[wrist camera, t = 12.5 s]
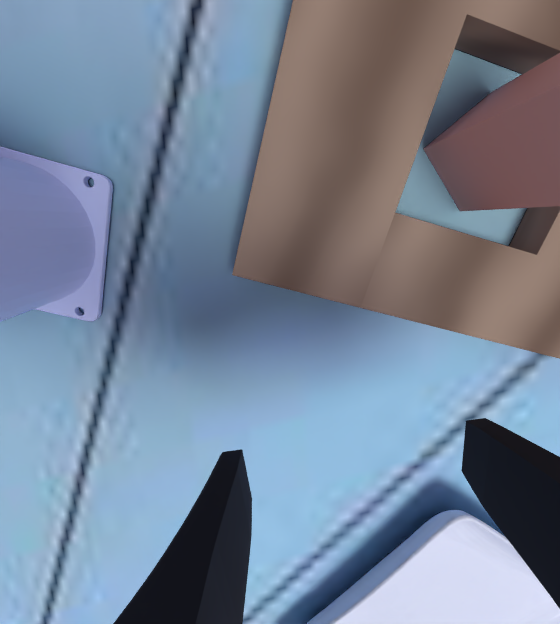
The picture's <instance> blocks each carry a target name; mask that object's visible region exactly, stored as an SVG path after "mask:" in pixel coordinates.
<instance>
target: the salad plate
mask: <svg viewBox="0 0 560 624" xmlns="http://www.w3.org/2000/svg"><path fill="white" fill-rule="evenodd" d="M307 624H560V609H559V607H558V606H557V605H556V603H555V602H554V600H553V599H552V598H551V596H550V595H549V593H548V592H547V591H546V589H545V588H544V587H543V585H542V584H541V583H540V582H539V580H538V579H537V578H536V576H535V575H534V574H533V572H532V571H531V570H530V568H529V567H528V566H527V564H526V563H525V562H524V560H523V559H522V558H521V556H520V555H519V554H518V552H517V551H516V550H515V549H514V547H513V546H512V545H511V543H510V542H509V541H508V539H507V538H506V537H505V536H503V535H502V534H500V533H499V532H498V531H496V530H495V529H493V528H492V527H490V526H489V525H487V524H486V523H484V522H483V521H481V520H479V519H478V518H476V517H474V516H472V515H470V514H468V513H466V512H464V511H461V510H449V511H444V512H441V513H439V514H437V515H435V516H434V517H432V518H431V519H430V520H428V521H427V522H426V523H424V524H423V525H422V526H421V527H420V528H419V529H418V530H416V531H415V532H414V533H413V534H412V535H411V536H410V537H409V538H407V539H406V540H405V541H404V542H403V543H401V544H400V545H399V546H398V547H397V548H395V549H394V550H393V551H392V552H391V553H390V554H388V555H387V556H386V557H385V558H384V559H382V560H381V561H380V562H379V563H378V564H377V565H375V566H374V567H373V568H372V569H371V570H370V571H369V572H368V573H366V574H365V575H364V576H363V577H362V578H361V579H359V580H358V581H357V582H356V583H355V584H354V585H352V586H351V587H350V588H349V589H348V590H347V591H345V592H344V593H343V594H342V595H340V596H339V597H338V598H337V599H336V600H334V601H333V602H332V603H331V604H330V605H328V606H327V607H326V608H325V609H323V610H322V611H321V612H320V613H318V614H317V615H316V616H315V617H313V618H312V619H311V620H310V621H309V622H308V623H307Z"/></svg>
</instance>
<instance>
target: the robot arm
mask: <svg viewBox="0 0 560 624" xmlns="http://www.w3.org/2000/svg"><path fill="white" fill-rule="evenodd" d="M89 178H92V179H93V180H94V186H93V187H90V186H89V184H88V180H89ZM112 193H113V184H112V182H111V180H110V179H109V178H108V177H106V176H104V175H101V174H97V173H94V172H90V171H86V170H83V169H79V168H76V167H72V166H69V165H65V164H61V163H58V162H54V161H51V160H47V159H44V158H40V157H36V156H33V155H29V154H26V153H22V152H19V151H15V150H11V149H8V148H4V147H1V146H0V322H1V321H4V320H6V319H9V318H12V317H14V316H17V315H20V314H22V313H25V312H28V311H30V310H33V309H36V310H40V311H45V312H49V313H53V314H58V315H62V316H67V317H71V318H76V319H80V320H85V321H95V320H97V319H98V318H99V317H100V316H101V310H102V299H103V289H104V278H105V267H106V257H107V246H108V236H109V225H110V214H111V204H112ZM79 307H81V308H82V309H83V310H84V314H83V313H81V312H80V311H79ZM462 472H463V474H464V476H465V478H466V479H467V481H468V483H469V484H470V486H471V488H472V490H473V491H474V493H475V494H476V496H477V498H478V499H479V501H480V502H481V504H482V506H483V507H484V508H485V510H486V511H487V512H488V514H489V515H490V517H491V518H492V519H493V521H494V522H495V523H496V525H497V526H498V527H499V529H500V530H501V531H502V533H503V534H504V535H505V537H506V538H507V539H508V541H509V542H510V543H511V545H512V546H513V547H514V549H515V550H516V551H517V552H518V554H519V555H520V556H521V558H522V559H523V560H524V562H525V563H526V564H527V566H528V567H529V568H530V570H531V571H532V572H533V574H534V575H535V576H536V578H537V579H538V580H539V582H540V583H541V584H542V585H543V587H544V588H545V589H546V591H547V592H548V593H549V595H550V596H551V598H552V599H553V600H554V602H555V603H556V605H557V606H558V607H559V609H560V457H559V456H557V455H555V454H553V453H551V452H549V451H547V450H545V449H543V448H542V447H540V446H538V445H536V444H534V443H532V442H530V441H528V440H527V439H525V438H523V437H521V436H519V435H517V434H515V433H513V432H512V431H510V430H508V429H506V428H504V427H502V426H500V425H498V424H496V423H494V422H492V421H490V420H488V419H486V418H483V419H475V420H467V421H466V428H465V439H464V451H463V462H462ZM251 529H252V497H251V492H250V487H249V482H248V477H247V472H246V466H245V461H244V456H243V451H242V450H235V451H227V452H223V453H222V454H221V455H220V457H219V459H218V461H217V463H216V465H215V467H214V469H213V471H212V473H211V475H210V477H209V479H208V481H207V483H206V484H205V486H204V488H203V490H202V492H201V494H200V495H199V497H198V499H197V501H196V502H195V504H194V506H193V507H192V509H191V511H190V513H189V514H188V516H187V518H186V519H185V521H184V523H183V524H182V526H181V528H180V529H179V531H178V532H177V534H176V535H175V537H174V539H173V540H172V542H171V543H170V545H169V546H168V548H167V550H166V551H165V553H164V554H163V556H162V557H161V559H160V560H159V562H158V563H157V565H156V566H155V568H154V569H153V571H152V572H151V573H150V575H149V576H148V578H147V579H146V581H145V582H144V583H143V585H142V586H141V587H140V589H139V590H138V592H137V593H136V594H135V596H134V597H133V598H132V600H131V601H130V603H129V604H128V605H127V607H126V608H125V609H124V610H123V612H122V613H121V614H120V616H119V617H118V618H117V620H116V621H115V622H114V623H113V624H242V622H243V612H244V603H245V593H246V584H247V574H248V565H249V555H250V545H251Z"/></svg>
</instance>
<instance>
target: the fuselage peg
mask: <svg viewBox="0 0 560 624" xmlns="http://www.w3.org/2000/svg"><path fill="white" fill-rule="evenodd" d="M424 151H425V153H426V154H427V156H428V158H429V159H430V161H431V163H432V165H433V166H434V168H435V170H436V171H437V173H438V175H439V176H440V178H441V180H442V182H443V183H444V185H445V187H446V188H447V190H448V192H449V194H450V195H451V197H452V199H453V200H454V202H455V204H456V205H457V207H458V209H459V211H473V210H493V209H512V208H532V207H552V206H560V53H559V54H557V55H555V56H553V57H552V58H550V59H548V60H546V61H545V62H543V63H541V64H540V65H538V66H536V67H534V68H533V69H531V70H529V71H527V72H526V73H524V74H522V75H520V76H519V77H517V78H515V79H514V80H512V81H510V82H508V83H507V84H505V85H503V86H501V87H500V88H498V89H496V90H494V91H493V92H491V93H490V94H489V95H487V96H486V97H485V98H484V99H483V100H481V101H480V102H479V103H478V104H477V105H475V106H474V107H473V108H472V109H471V110H469V111H468V112H467V113H466V114H465V115H463V116H462V117H461V118H460V119H459V120H457V121H456V122H455V123H454V124H453V125H451V126H450V127H449V128H448V129H447V130H445V131H444V132H443V133H442V134H441V135H439V136H438V137H437V138H436V139H435V140H433V141H432V142H431V143H430V144H429V145H427V146H426V147H425V148H424Z"/></svg>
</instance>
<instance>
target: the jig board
mask: <svg viewBox="0 0 560 624" xmlns="http://www.w3.org/2000/svg"><path fill="white" fill-rule="evenodd" d="M454 49H458V50H460V51H463V52H466V53H468V54H471V55H474V56H476V57H479V58H482V59H484V60H487V61H489V62H492V63H495V64H497V65H500V66H503V67H505V68H508V69H511V70H513V71H516V72H519V73H521V74H524V73H526V72H527V71H529V70H531V69H533V68H534V67H536V66H538V65H540V64H541V63H543V62H545V61H546V60H548V59H550V58H552V57H553V56H555V55H557V54H559V53H560V0H293V3H292V7H291V12H290V16H289V21H288V25H287V30H286V35H285V39H284V44H283V48H282V53H281V57H280V62H279V66H278V71H277V75H276V80H275V84H274V89H273V93H272V98H271V102H270V107H269V111H268V116H267V120H266V125H265V129H264V134H263V138H262V143H261V147H260V152H259V156H258V161H257V165H256V170H255V174H254V179H253V183H252V188H251V192H250V197H249V201H248V206H247V210H246V215H245V219H244V224H243V228H242V233H241V237H240V242H239V246H238V251H237V255H236V260H235V264H234V269H233V274H232V275H234V276H238V277H242V278H246V279H250V280H254V281H258V282H261V283H265V284H269V285H273V286H277V287H281V288H285V289H289V290H293V291H297V292H301V293H305V294H309V295H312V296H316V297H320V298H324V299H328V300H332V301H336V302H340V303H344V304H348V305H352V306H356V307H360V308H363V309H367V310H371V311H375V312H379V313H383V314H387V315H391V316H395V317H399V318H403V319H407V320H411V321H414V322H418V323H422V324H426V325H430V326H434V327H438V328H442V329H446V330H450V331H454V332H458V333H462V334H465V335H469V336H473V337H477V338H481V339H485V340H489V341H493V342H497V343H501V344H505V345H509V346H513V347H516V348H520V349H524V350H528V351H532V352H536V353H540V354H544V355H548V356H552V357H556V358H560V206H552V207H532V208H527V211H526V213H525V215H524V217H523V219H522V221H521V223H520V225H519V227H518V229H517V231H516V233H515V235H514V237H513V239H512V241H511V244H510V246H505V245H502V244H499V243H495V242H492V241H489V240H485V239H482V238H479V237H475V236H472V235H468V234H465V233H462V232H458V231H455V230H452V229H448V228H445V227H442V226H438V225H435V224H432V223H428V222H425V221H422V220H418V219H415V218H412V217H408V216H405V215H401V214H398V213H395V211H396V209H397V206H398V203H399V200H400V198H401V195H402V192H403V189H404V187H405V184H406V181H407V178H408V176H409V173H410V170H411V167H412V164H413V162H414V159H415V156H416V153H417V151H418V148H419V145H420V142H421V140H422V137H423V134H424V131H425V129H426V126H427V123H428V120H429V118H430V115H431V112H432V109H433V107H434V104H435V101H436V98H437V95H438V93H439V90H440V87H441V84H442V82H443V79H444V76H445V73H446V71H447V68H448V65H449V62H450V60H451V57H452V54H453V51H454Z"/></svg>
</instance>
